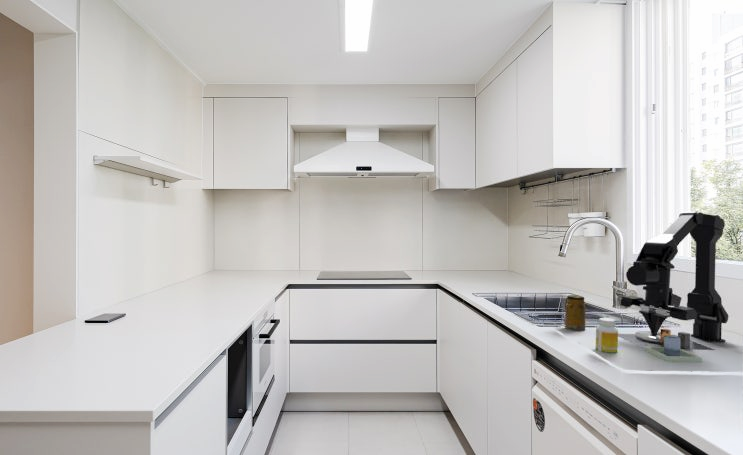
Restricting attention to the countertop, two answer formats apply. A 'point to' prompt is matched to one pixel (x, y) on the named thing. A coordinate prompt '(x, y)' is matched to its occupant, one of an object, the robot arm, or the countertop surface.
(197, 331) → the countertop surface
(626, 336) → the crank base
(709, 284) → the robot arm
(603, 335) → the supplement bottle
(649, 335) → the crank
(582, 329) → the condiment
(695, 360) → the tray
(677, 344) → the blue gray block
